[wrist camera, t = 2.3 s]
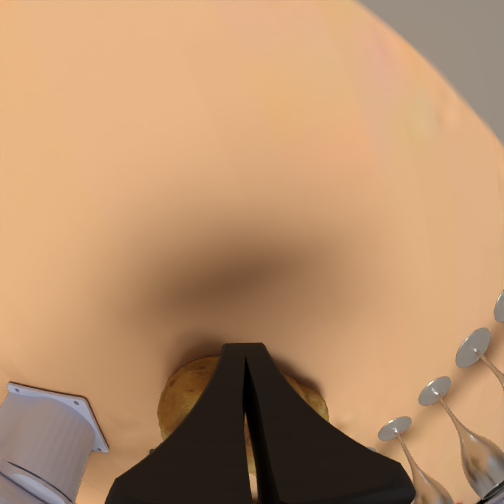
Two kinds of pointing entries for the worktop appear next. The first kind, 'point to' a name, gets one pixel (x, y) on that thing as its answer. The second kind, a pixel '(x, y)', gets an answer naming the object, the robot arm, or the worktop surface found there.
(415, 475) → the goblet set
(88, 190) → the worktop surface
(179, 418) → the bread roll
